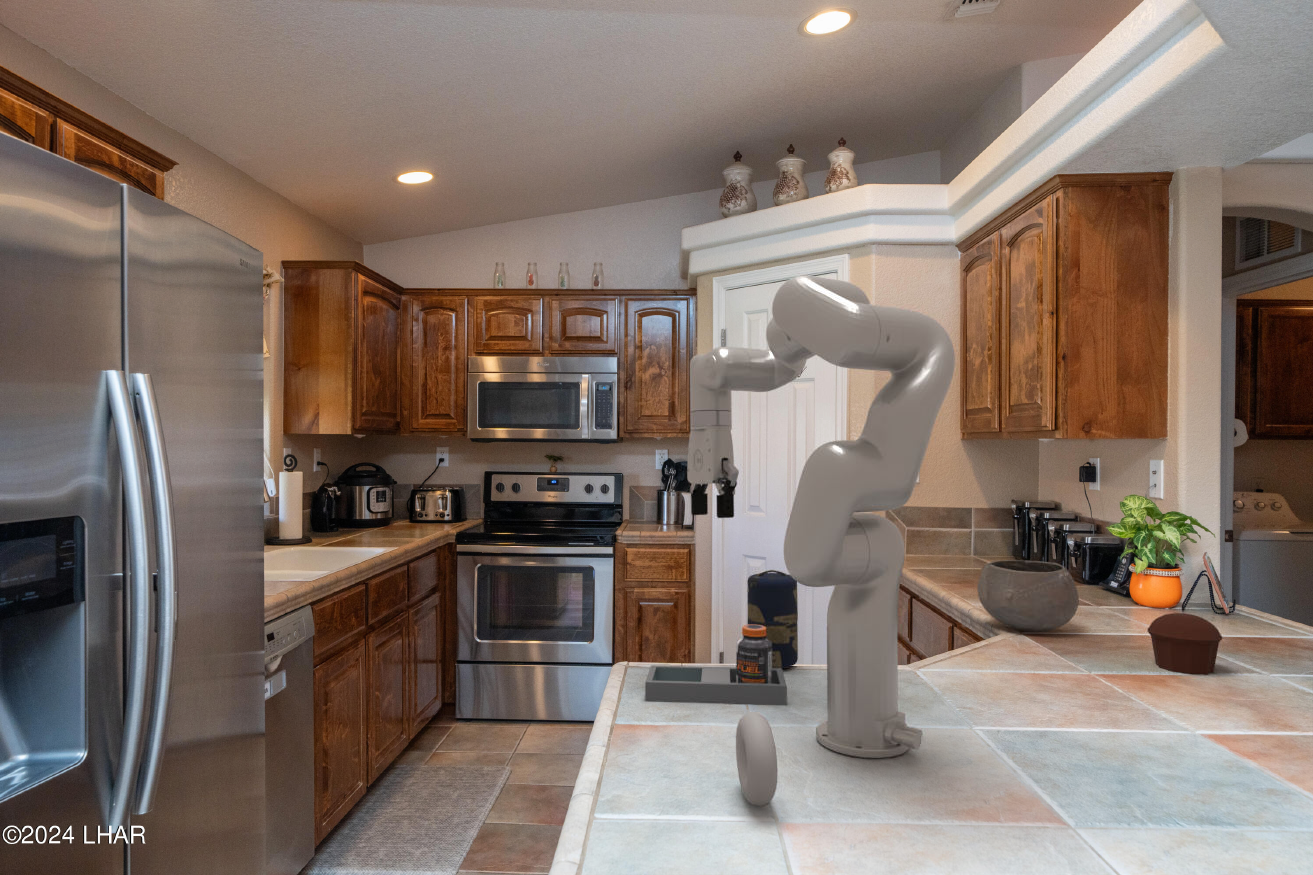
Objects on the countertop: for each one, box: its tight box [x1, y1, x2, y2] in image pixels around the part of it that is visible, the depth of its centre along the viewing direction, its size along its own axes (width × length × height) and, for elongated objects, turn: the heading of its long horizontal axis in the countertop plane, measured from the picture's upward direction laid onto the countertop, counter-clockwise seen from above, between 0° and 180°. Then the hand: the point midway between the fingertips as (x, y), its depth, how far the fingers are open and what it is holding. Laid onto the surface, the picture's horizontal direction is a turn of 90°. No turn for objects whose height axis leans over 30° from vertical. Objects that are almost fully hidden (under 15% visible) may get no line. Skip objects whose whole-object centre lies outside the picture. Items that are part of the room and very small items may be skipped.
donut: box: [735, 711, 778, 807], centre depth 87 cm, size 10×4×10 cm, turn 5°
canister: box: [746, 569, 799, 669], centre depth 144 cm, size 10×10×18 cm
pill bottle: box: [735, 624, 772, 684], centre depth 126 cm, size 6×6×11 cm
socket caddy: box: [644, 664, 788, 706], centre depth 127 cm, size 23×10×3 cm, turn 85°
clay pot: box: [976, 559, 1080, 632], centre depth 176 cm, size 21×21×15 cm
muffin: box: [1147, 612, 1223, 676], centre depth 143 cm, size 12×11×10 cm
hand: (712, 516), depth 137 cm, fingers open, 9 cm apart
